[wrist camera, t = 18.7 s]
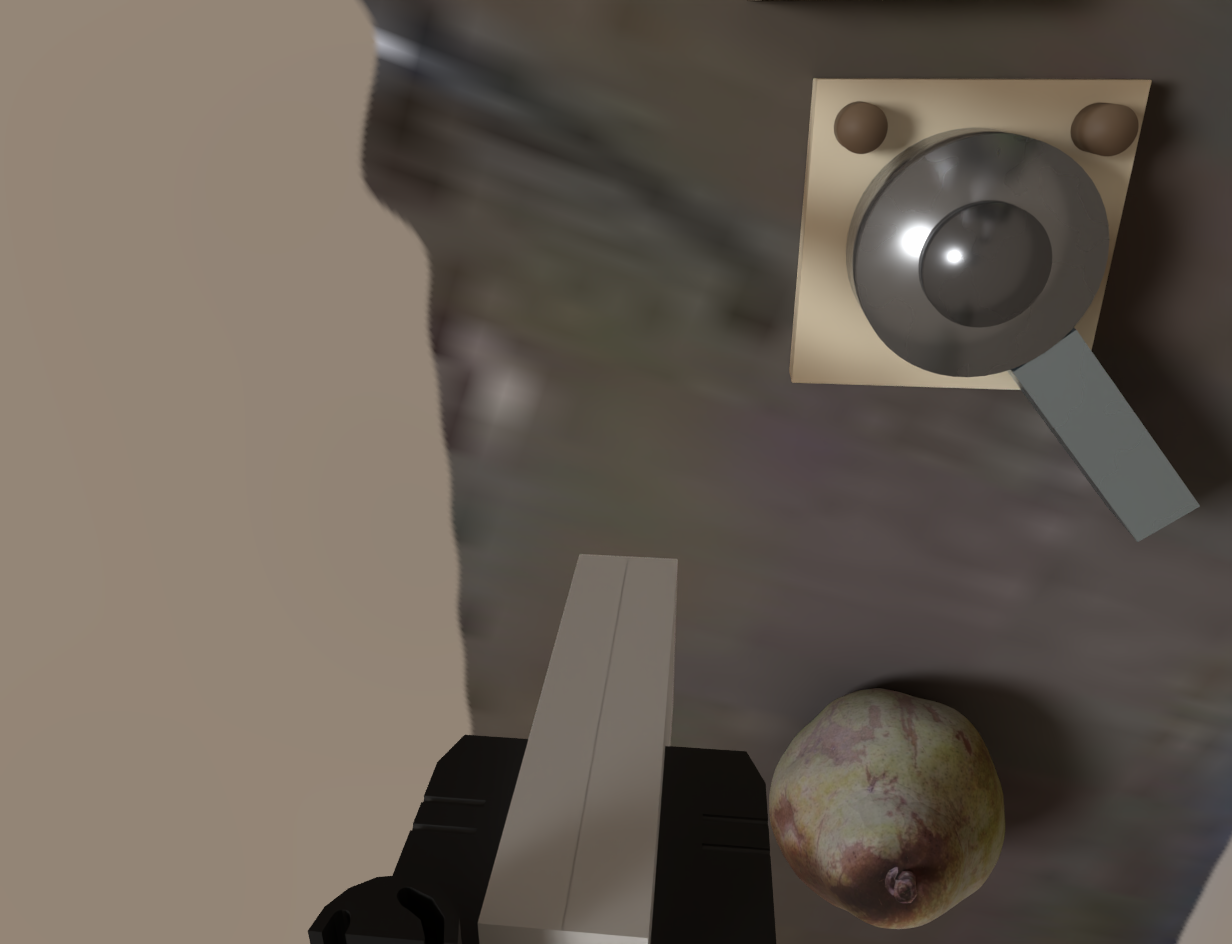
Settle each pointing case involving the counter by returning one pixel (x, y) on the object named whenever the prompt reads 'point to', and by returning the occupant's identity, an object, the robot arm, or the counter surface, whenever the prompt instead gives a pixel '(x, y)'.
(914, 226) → the grey metal pan
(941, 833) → the fruit
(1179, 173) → the counter surface
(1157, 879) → the counter surface
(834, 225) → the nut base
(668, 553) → the counter surface
